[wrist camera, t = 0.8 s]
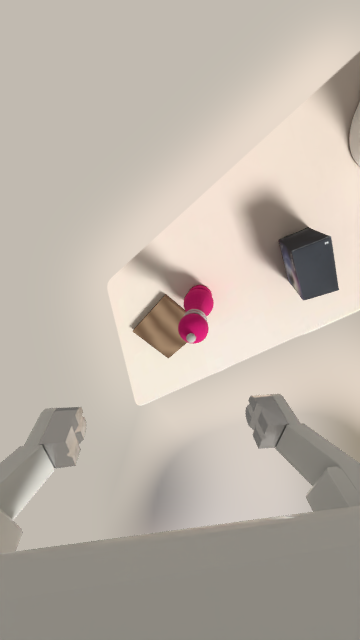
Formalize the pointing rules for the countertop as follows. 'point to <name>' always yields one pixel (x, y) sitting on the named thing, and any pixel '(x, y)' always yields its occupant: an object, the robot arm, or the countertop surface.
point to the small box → (309, 263)
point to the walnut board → (162, 327)
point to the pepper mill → (196, 314)
